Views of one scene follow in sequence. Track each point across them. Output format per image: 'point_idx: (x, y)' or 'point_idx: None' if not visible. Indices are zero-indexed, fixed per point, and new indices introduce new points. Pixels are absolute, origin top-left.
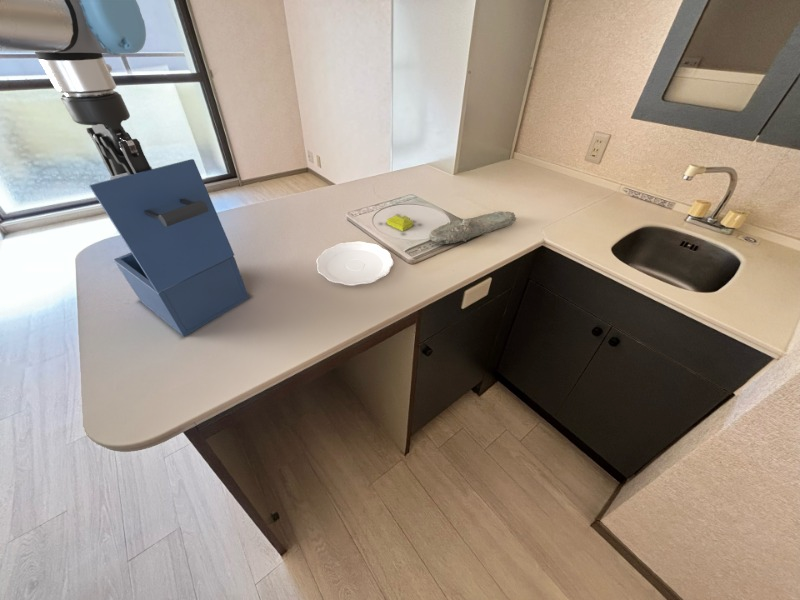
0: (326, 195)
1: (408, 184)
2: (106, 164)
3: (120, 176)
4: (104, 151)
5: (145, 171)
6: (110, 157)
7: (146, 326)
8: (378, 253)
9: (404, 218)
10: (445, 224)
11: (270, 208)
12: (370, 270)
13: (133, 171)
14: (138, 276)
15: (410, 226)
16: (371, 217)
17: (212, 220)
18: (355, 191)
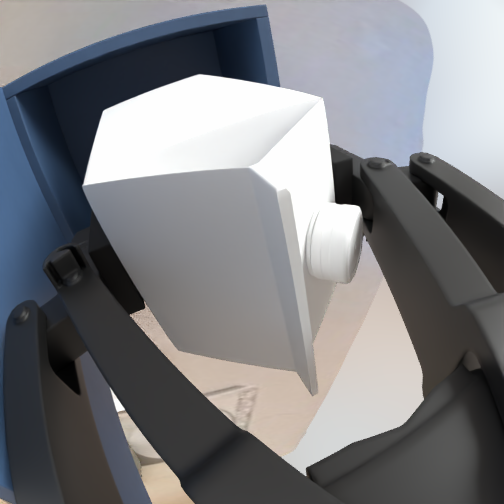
0: (323, 368)
1: (268, 440)
2: (490, 203)
3: (282, 265)
4: (500, 366)
5: (8, 499)
6: (460, 323)
7: (119, 17)
8: (116, 402)
9: None
10: (137, 461)
11: (354, 298)
12: None
13: (42, 468)
14: (116, 40)
15: None
16: (222, 408)
17: None
18: (302, 397)
